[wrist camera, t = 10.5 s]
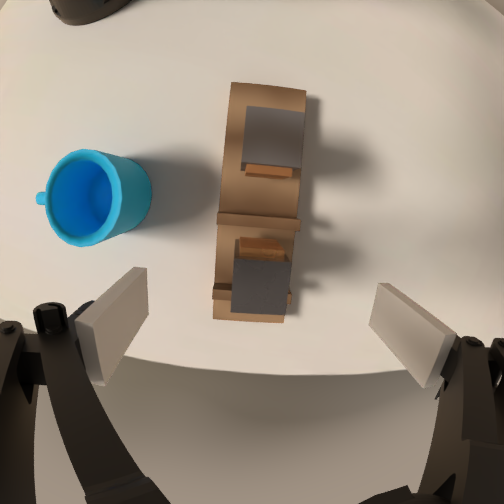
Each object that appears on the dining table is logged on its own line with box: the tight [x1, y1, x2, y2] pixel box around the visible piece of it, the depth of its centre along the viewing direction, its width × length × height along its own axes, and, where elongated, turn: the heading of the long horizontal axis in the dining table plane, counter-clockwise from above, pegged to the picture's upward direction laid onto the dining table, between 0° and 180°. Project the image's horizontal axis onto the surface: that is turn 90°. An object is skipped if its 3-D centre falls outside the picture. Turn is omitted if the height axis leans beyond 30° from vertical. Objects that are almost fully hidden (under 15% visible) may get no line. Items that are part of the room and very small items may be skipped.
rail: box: [212, 82, 306, 323], centre depth 24 cm, size 24×7×10 cm, turn 175°
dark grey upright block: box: [230, 237, 292, 315], centre depth 24 cm, size 5×4×8 cm
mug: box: [36, 149, 152, 247], centre depth 24 cm, size 12×8×8 cm
